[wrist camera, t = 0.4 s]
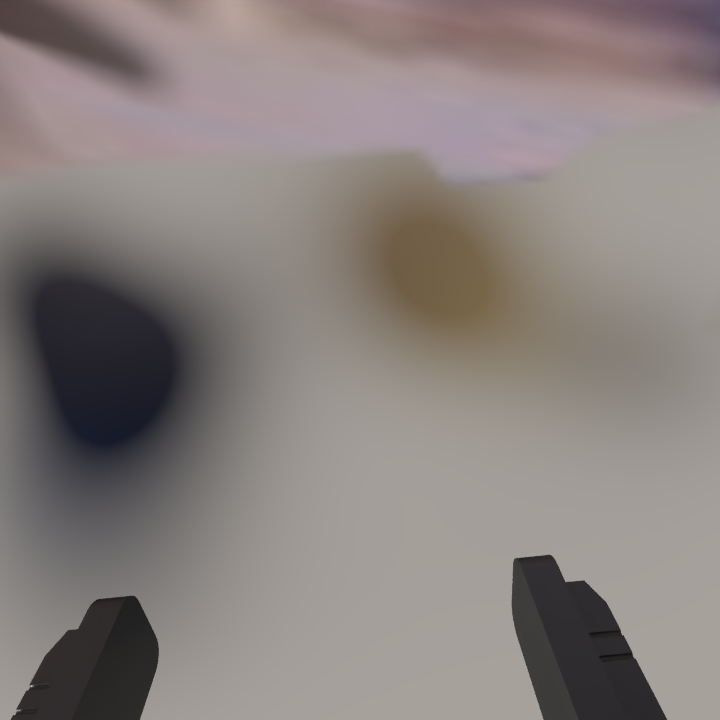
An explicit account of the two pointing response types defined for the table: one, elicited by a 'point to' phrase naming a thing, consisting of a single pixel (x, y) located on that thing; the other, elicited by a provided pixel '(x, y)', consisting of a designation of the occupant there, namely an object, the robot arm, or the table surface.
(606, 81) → the table surface
